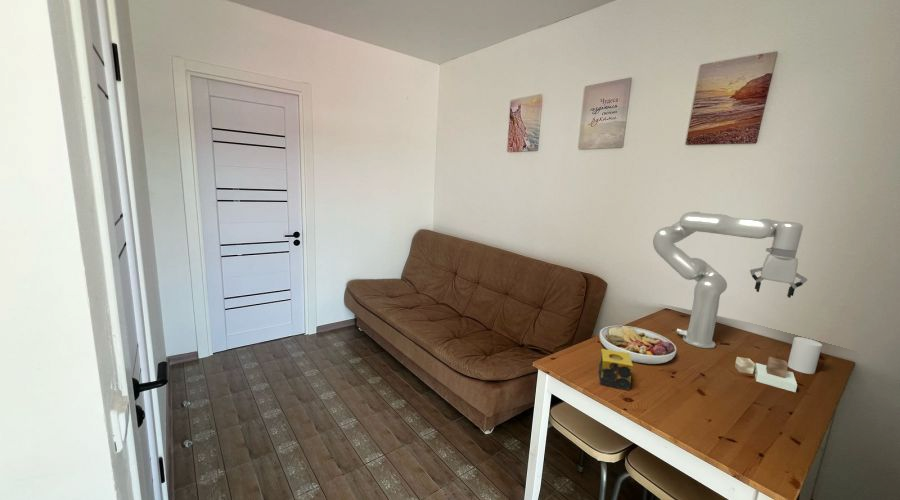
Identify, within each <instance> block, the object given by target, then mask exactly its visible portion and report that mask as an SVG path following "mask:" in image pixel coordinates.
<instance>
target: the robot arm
mask: <svg viewBox="0 0 900 500" xmlns="http://www.w3.org/2000/svg"><path fill="white" fill-rule="evenodd" d="M803 228H804V226H803V224H802V223H800V222H794V221H779V220H775V219H771V218H769V219H768V218H762V219H750V218H741V217H740V218H738V217H732V216H729V215H727V214H722V213H721V214H719V213H718V214H717V213H705V212H701V211H687V212H685V213H683V214H682V216H681V217H680V219H679V221H677V222H675V223H674V224H672V225H670V226H663V227H661V228H658V229H657V231H656V232H655V233H654V235H653V238H652V245H653V249H654V250H655V253H657V255H659V256H660V257H661V258H662V259H663V260H664V261H665V262H666V263H667V264H668V266H670V267H671V268H672V269H673V270H675V272H676V273H678V275H680V277H681V278H683V279H685V280H688V281H690V280H691V281H693V280H694V281H695V282H696V284H695V286H694V289H693V290H694V291H693V301H692V302H693V303H692V308H691V314H690V318H689V323H688V328H687V329H682V328H676V333H677V334H678V335H681V336H682V340H683V341H684V342H685V343H687V345H688V344H689V345H691V346H693V347H698V348H701V349H714V348H715V347H716V343H715V341H714V340H713V337H714V333H715V327H716V321H717V318H718V312H719V307H720V297H721V295H722V294H723V293H724V292H725V291H726V290H727V288H728V284H727V283H728V282H727V280H726V279H725V277H724V276H722V274H720V273H719V271H717V270H715V269H714V267H712V266H711V265H710V264H709V263H707V261H705V260H703V259H702V258H699V257H690V256H689V255H688V254H687V253H685V251H683V249H681V248H680V247H678V246H676V244H675V243H678V242H681V241H682V240H684V239H685V238H687V237H689V236H691V235H693V234H694V233H696V232H699V233H707V234H717V235H723V236H732V237H738V238H739V237H740V238H745V239H747V238H748V239H755V240H759V239H760V240H761V239H762V240H763V239H766V238H773V240H772V244H771V247H769V248H768V247H766V248H765V252H768V254H767V255H766V257H765V259H764V261H763V264H762V266H760V267H758V268H757V267H756V268H753V269H750V270H749V273H750V275H751V277H752V279H754V280H755V285H754V290H756V293H759V292H760V288H761V285H762V281H764V280H768V281H773V282H779V283H783V284H784V283H785V284H789V285H790V286H789V287H788V290H787V295H786V296H787V298H788V299H789V298H791V297H793V296H794V293H795V290H796V289H797V288H799V287H801V286H803V285H804V284H805V283H806V282H807V281H808V278H806V277H805V276H803V275H801V274H800V273H797V271H798V263H799V259H798V258H797V257H796V256H797V252H798V249H799V244H800V241H801V236H802V232H803V230H804V229H803ZM757 272H758V273H759V272H760V276H757V275H756V274H755V273H757ZM796 278H797V279H800V280H799V281H797V282H795V280H796Z"/></svg>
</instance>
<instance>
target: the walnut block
mask: <svg viewBox="0 0 900 500" xmlns="http://www.w3.org/2000/svg"><path fill="white" fill-rule="evenodd" d="M787 364H788V362H787V360H784V359H781V358H780V359H779V358H776V357H772V356H768V359H767V363H766V366H767V367H766V370H767V374H771V375H775V376H778V377H782V378H785V376H786V372H787V371H788V368H789V367H788V365H787Z"/></svg>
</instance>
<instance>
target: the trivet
mask: <svg viewBox="0 0 900 500" xmlns="http://www.w3.org/2000/svg"><path fill="white" fill-rule="evenodd" d="M754 364H755V366H754V371H753V372H754V375H755V381H756V382H758V383H760V384H765V385H768V386H772V387H774V388H779V389H783V390H786V391H790V392H793V393H796V392H797V388H798V384H797V383H798V382H797V381H796V378H795V375H794V372H793V371H789V370H787V372H786V376H785V378H782V377H778V376H775V375H771V374H767V370H766V367H767V364H762V363H758V362H755V363H754Z"/></svg>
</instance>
